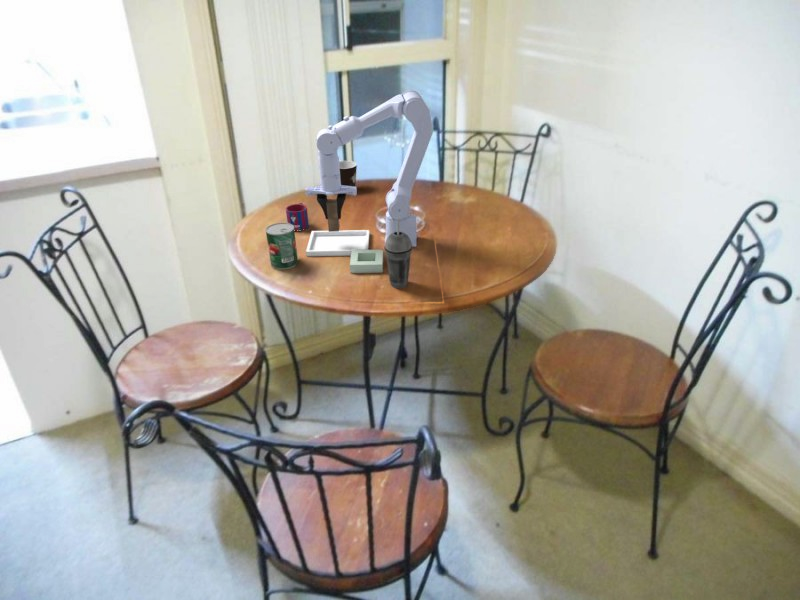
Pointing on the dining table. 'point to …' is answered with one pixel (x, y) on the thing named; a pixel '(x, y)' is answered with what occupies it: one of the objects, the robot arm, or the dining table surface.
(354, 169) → the coffee mug
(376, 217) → the dining table surface
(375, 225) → the dining table surface
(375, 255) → the mint square peg hole
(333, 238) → the tray
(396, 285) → the beverage cup
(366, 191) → the dining table surface
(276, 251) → the canned tomato
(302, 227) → the cup
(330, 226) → the walnut peg
